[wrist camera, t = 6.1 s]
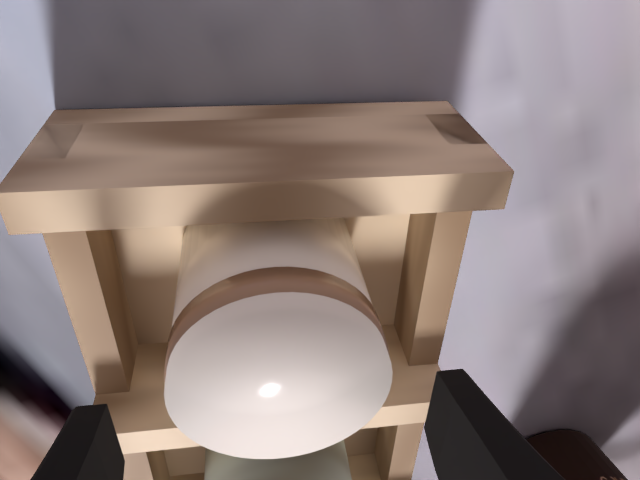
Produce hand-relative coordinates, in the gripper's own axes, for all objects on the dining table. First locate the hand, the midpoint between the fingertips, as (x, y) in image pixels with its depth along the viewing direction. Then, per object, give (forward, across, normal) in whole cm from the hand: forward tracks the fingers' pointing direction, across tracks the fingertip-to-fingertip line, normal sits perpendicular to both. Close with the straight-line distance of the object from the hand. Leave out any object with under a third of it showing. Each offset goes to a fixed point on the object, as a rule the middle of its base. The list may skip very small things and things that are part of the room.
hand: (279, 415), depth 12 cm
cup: (+6, 0, 0) cm, 6 cm away
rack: (+7, 0, +4) cm, 8 cm away
